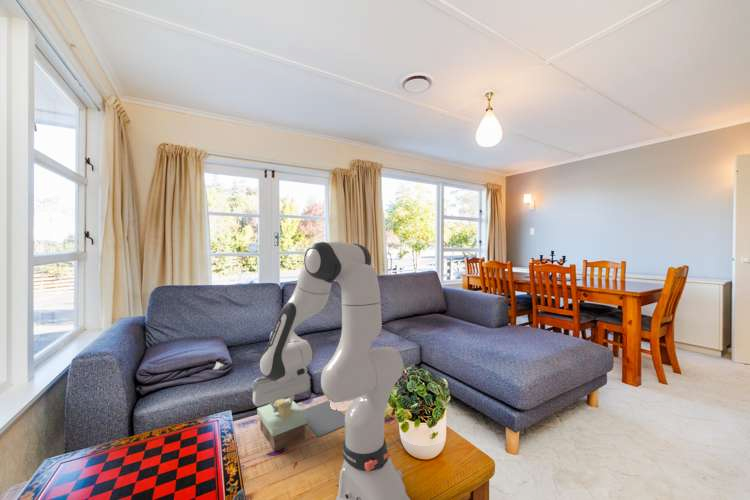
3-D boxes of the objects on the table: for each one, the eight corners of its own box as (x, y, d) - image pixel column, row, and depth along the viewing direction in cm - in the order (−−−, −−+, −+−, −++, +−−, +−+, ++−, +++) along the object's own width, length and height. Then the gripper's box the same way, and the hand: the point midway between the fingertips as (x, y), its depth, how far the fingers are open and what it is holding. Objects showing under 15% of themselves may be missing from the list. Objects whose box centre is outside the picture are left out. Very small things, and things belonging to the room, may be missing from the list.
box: (305, 438, 107) (304, 418, 106) (274, 451, 100) (274, 430, 100) (288, 419, 118) (288, 401, 118) (260, 429, 112) (260, 411, 112)
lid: (308, 422, 106) (308, 406, 106) (272, 436, 98) (272, 419, 98) (290, 403, 120) (290, 388, 120) (257, 414, 112) (257, 398, 112)
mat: (353, 422, 116) (353, 421, 116) (318, 437, 107) (318, 436, 107) (328, 401, 132) (328, 400, 132) (295, 412, 123) (295, 412, 123)
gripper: (255, 382, 100) (255, 423, 100) (311, 367, 112) (311, 403, 113) (249, 376, 105) (250, 415, 105) (304, 362, 117) (304, 397, 118)
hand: (282, 409), depth 109 cm, fingers open, 4 cm apart
